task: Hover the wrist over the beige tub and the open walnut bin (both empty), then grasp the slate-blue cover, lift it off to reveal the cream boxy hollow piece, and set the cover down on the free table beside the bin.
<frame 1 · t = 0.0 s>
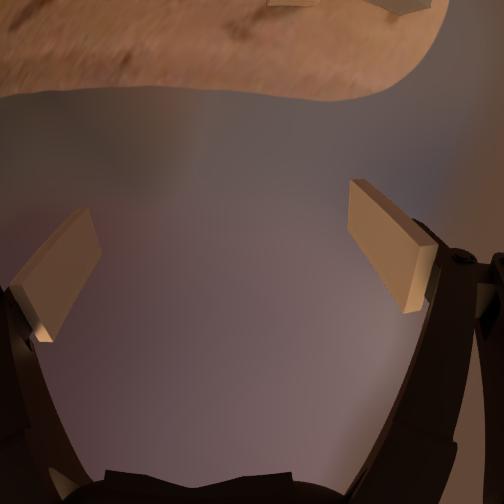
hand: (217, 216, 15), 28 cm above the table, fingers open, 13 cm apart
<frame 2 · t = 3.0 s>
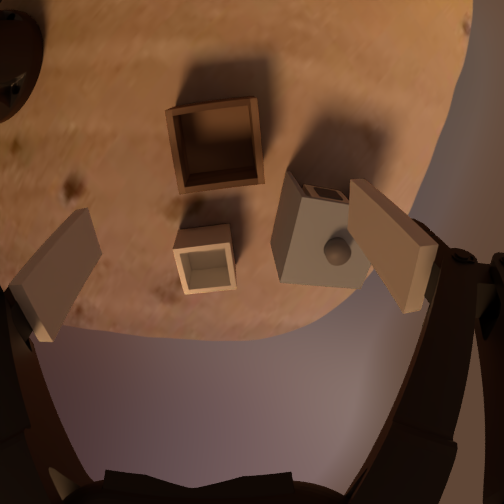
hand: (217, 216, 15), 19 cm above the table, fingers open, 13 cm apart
cover: (315, 213, 36), on the table
walnut bin: (217, 137, 31), on the table
beige tub: (207, 248, 37), on the table
cream boxy hollow piece: (317, 205, 35), on the table
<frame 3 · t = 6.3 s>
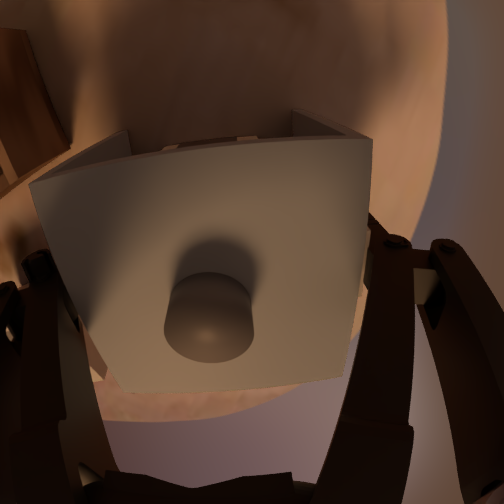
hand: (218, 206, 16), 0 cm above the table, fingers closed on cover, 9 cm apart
cover: (217, 203, 16), on the table, touching gripper
beige tub: (66, 309, 19), on the table
cream boxy hollow piece: (215, 183, 15), on the table
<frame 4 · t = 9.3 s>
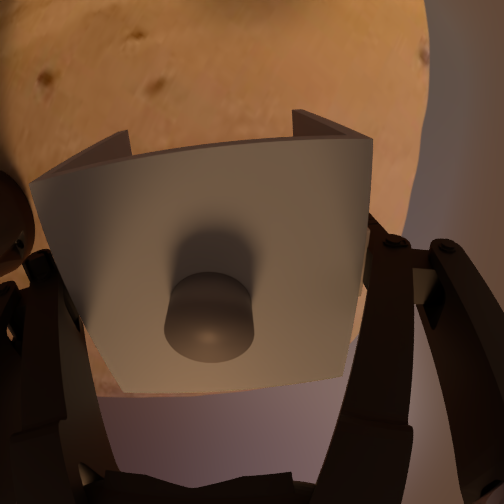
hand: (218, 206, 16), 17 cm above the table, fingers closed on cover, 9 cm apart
cover: (217, 203, 16), point 17 cm above the table, touching gripper
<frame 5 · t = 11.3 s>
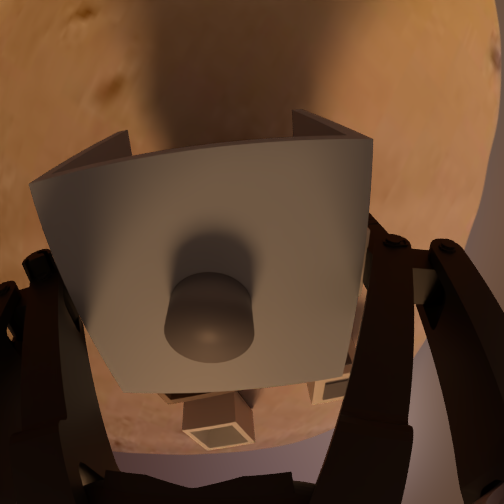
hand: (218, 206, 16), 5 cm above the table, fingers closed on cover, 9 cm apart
cover: (217, 203, 16), point 5 cm above the table, touching gripper
walnut bin: (191, 325, 26), on the table
beige tub: (219, 404, 33), on the table
cream boxy hollow piece: (326, 353, 30), on the table
when the fingers open (2 cm above the table, at t = 12.5 s): cover drops 2 cm, on the table.
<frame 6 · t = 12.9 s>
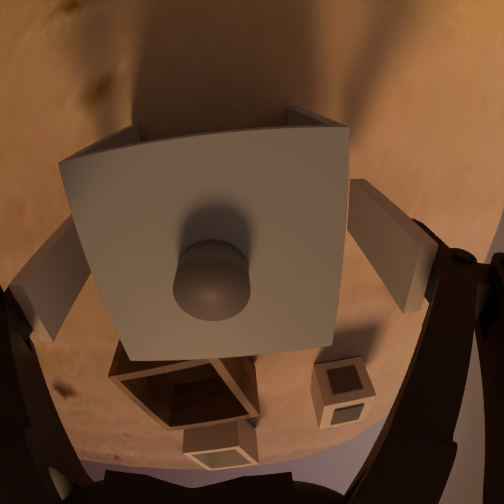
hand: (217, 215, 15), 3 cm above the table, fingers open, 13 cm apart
cover: (219, 191, 17), on the table
walnut bin: (191, 349, 24), on the table
beige tub: (221, 424, 30), on the table
cream boxy hollow piece: (335, 375, 27), on the table
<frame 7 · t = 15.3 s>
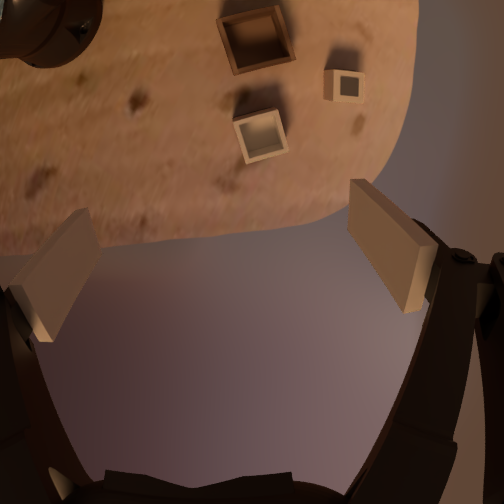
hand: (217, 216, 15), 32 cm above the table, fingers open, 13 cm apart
walnut bin: (253, 43, 36), on the table
beige tub: (258, 131, 42), on the table
cream boxy hollow piece: (338, 85, 39), on the table
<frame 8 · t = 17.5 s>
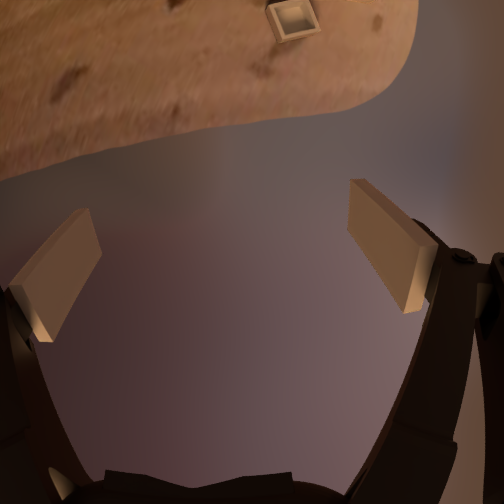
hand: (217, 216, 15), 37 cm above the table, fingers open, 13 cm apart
beige tub: (289, 23, 38), on the table
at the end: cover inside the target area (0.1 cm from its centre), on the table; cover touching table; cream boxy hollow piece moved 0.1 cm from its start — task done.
